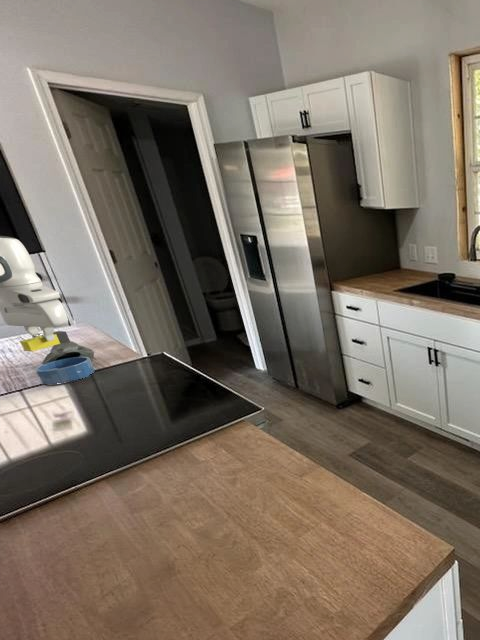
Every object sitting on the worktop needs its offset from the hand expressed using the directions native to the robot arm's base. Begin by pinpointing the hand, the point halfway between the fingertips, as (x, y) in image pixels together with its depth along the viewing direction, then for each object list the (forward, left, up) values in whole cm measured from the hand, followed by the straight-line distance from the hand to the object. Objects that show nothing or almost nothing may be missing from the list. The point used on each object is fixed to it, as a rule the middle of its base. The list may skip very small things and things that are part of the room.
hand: (44, 340), depth 121 cm
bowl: (+5, +7, -15) cm, 17 cm away
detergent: (+16, +24, -15) cm, 32 cm away
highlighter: (0, 0, -2) cm, 2 cm away
